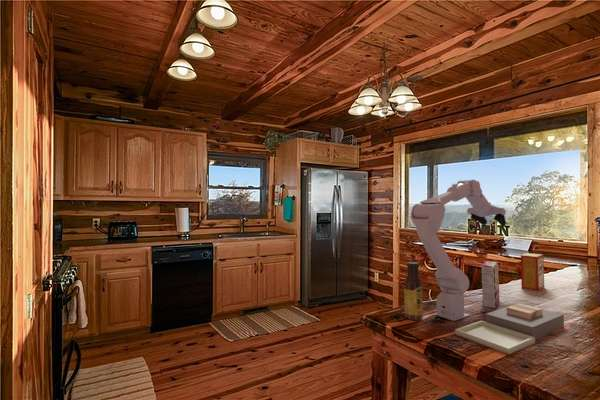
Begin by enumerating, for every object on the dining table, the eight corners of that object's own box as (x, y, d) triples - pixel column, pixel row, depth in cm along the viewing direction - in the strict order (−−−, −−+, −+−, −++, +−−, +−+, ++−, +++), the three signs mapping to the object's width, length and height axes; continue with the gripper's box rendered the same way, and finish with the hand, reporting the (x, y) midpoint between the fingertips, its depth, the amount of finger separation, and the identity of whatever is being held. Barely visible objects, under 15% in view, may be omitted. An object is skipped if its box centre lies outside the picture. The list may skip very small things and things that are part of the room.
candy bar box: (485, 299, 137) (484, 260, 137) (499, 301, 134) (498, 261, 134) (481, 306, 128) (480, 265, 128) (496, 309, 125) (495, 266, 125)
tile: (529, 319, 102) (529, 313, 102) (506, 313, 108) (506, 307, 108) (542, 314, 106) (542, 308, 106) (519, 309, 112) (519, 303, 112)
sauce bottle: (421, 322, 113) (419, 265, 113) (402, 319, 116) (401, 263, 116) (424, 316, 118) (423, 262, 118) (407, 313, 121) (406, 260, 122)
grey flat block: (532, 340, 96) (532, 327, 96) (486, 325, 108) (485, 313, 108) (563, 326, 106) (563, 314, 106) (517, 314, 118) (517, 303, 118)
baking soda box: (528, 284, 159) (527, 252, 159) (544, 287, 154) (543, 253, 154) (521, 288, 153) (520, 254, 153) (538, 291, 148) (537, 256, 148)
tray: (509, 354, 88) (508, 348, 88) (455, 334, 102) (455, 329, 102) (535, 342, 95) (534, 337, 95) (481, 325, 109) (481, 320, 109)
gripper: (501, 194, 123) (517, 217, 128) (466, 195, 135) (481, 216, 140) (495, 208, 120) (510, 231, 125) (459, 208, 133) (474, 228, 138)
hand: (494, 224), depth 133 cm, fingers open, 7 cm apart
